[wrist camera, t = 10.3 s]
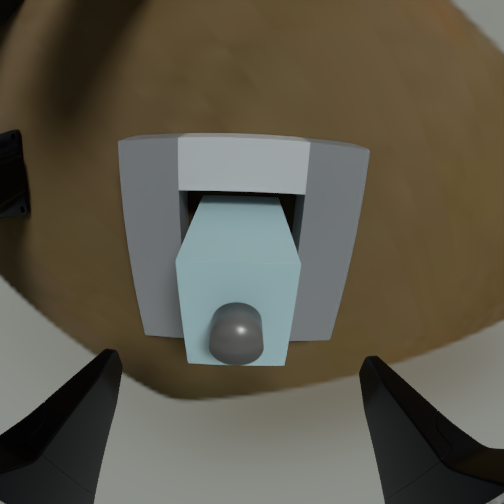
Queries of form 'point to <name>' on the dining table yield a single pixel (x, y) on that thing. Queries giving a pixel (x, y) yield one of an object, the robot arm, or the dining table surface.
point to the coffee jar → (6, 8)
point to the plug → (238, 282)
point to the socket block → (247, 180)
